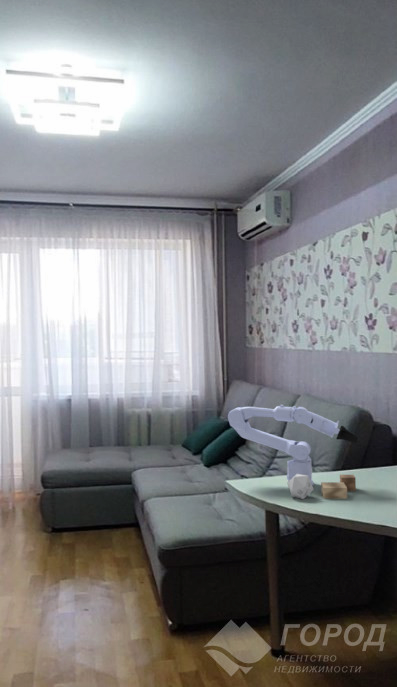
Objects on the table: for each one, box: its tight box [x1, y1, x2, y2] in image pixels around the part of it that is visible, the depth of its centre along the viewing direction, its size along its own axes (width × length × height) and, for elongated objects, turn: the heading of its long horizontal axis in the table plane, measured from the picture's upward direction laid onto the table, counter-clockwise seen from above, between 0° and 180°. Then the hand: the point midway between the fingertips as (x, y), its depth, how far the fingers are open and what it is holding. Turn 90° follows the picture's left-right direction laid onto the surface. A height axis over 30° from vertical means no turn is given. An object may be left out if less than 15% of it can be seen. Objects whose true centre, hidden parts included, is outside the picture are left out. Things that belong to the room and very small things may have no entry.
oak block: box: [320, 481, 348, 500], centre depth 202 cm, size 8×8×4 cm
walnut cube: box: [339, 474, 357, 492], centre depth 210 cm, size 5×5×5 cm
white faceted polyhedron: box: [286, 474, 314, 500], centre depth 201 cm, size 8×9×10 cm
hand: (356, 440), depth 216 cm, fingers open, 7 cm apart
